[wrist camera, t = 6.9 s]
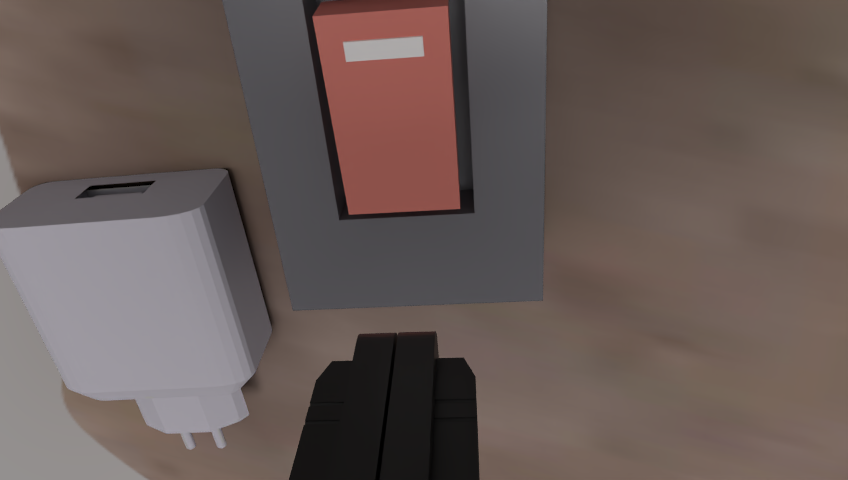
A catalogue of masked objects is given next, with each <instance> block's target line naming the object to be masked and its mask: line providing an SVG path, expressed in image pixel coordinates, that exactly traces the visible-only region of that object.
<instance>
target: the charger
mask: <svg viewBox="0 0 848 480" xmlns="http://www.w3.org/2000/svg"><path fill="white" fill-rule="evenodd" d="M143 181H155V182H154V183H153V184H152V185H147V186H134V187H122V188H109V189H96V190H86V189H87V188H88V187H89V186H93V185H106V184H118V183H131V182H143ZM84 190H85V191H84ZM83 191H84V192H83ZM82 192H83V193H82ZM81 193H82V194H81ZM80 194H81V195H80ZM79 195H80V196H79ZM77 196H78V197H77ZM76 197H77V198H76ZM75 198H76V199H75ZM0 258H1V259H2V262H3V264H4V266H5V267H6V269H7V271H8V273H9V275H10V277H11V279H12V281H13V283H14V285H15V287H16V289H17V291H18V293H19V295H20V297H21V299H22V301H23V303H24V305H25V307H26V308H27V310H28V312H29V314H30V316H31V318H32V320H33V322H34V324H35V326H36V328H37V330H38V332H39V334H40V336H41V338H42V340H43V341H44V344H45V346H46V347H47V349H48V351H49V353H50V355H51V357H52V359H53V361H54V363H55V365H56V367H57V369H58V371H59V373H60V375H61V377H62V379H63V381H64V383H65V385H66V386H67V388H68V389H70V390H72V391H74V392H77V393H80V394H82V395H85V396H88V397H91V398H93V399H96V400H127V399H135V400H136V402H137V404H138V406H139V409H140V411H141V413H142V415H143V418H144V420H145V422H146V424H147V425H148V426H151V427H153V428H155V429H157V430H159V431H162V432H164V433H166V434H170V433H181V436H182V438H183V441H184V443H185V446H186V448H187V449H193V448H194V447H195V446H196V444H195V441H194V439H193V436H192V434H191V433H194V432H212V434H213V437H214V440H215V442H216V445H217V447H218V448H224V447H225V446H226V445H227V443H226V440H225V438H224V435H223V432H222V429H221V428H223V427H225V426H228V425H231V424H233V423H236V422H239V421H241V420H242V419H244V418H245V417H247V416H248V415H249V412H248V409H247V406H246V403H245V400H244V397H243V394H242V391H241V387H242V386H243V385H244V384H245V383H246V382H247V381H248V380H249V379H250V378H251V377H252V376H253V375H254V373H255V372H256V370H257V367H258V365H259V362H260V360H261V357H262V355H263V353H264V350H265V348H266V345H267V343H268V340H269V338H270V335H271V333H272V327H271V324H270V320H269V316H268V313H267V309H266V306H265V302H264V299H263V295H262V291H261V288H260V284H259V281H258V277H257V274H256V270H255V267H254V263H253V259H252V256H251V252H250V249H249V245H248V242H247V238H246V234H245V231H244V227H243V224H242V220H241V217H240V213H239V209H238V206H237V202H236V199H235V195H234V192H233V188H232V184H231V181H230V177H229V174H228V171H227V170H225V169H220V168H216V169H202V170H189V171H177V172H164V173H152V174H139V175H127V176H115V177H102V178H90V179H77V180H66V181H55V182H48V183H44V184H40V185H37V186H34V187H32V188H30V189H28V190H27V191H26V192H24V193H23V194H22V195H20V196H19V197H17V198H16V199H15V200H13V201H12V202H11V203H9V204H8V205H6V206H5V207H4V208H2V209H1V210H0Z"/></svg>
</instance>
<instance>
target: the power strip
mask: <svg viewBox="0 0 848 480" xmlns="http://www.w3.org/2000/svg"><path fill="white" fill-rule="evenodd" d="M222 1H223V6H224V10H225V15H226V19H227V23H228V28H229V32H230V37H231V41H232V45H233V50H234V54H235V58H236V63H237V67H238V72H239V76H240V80H241V85H242V89H243V94H244V98H245V102H246V107H247V111H248V116H249V120H250V124H251V129H252V133H253V137H254V142H255V146H256V151H257V155H258V159H259V164H260V168H261V173H262V177H263V181H264V186H265V190H266V195H267V199H268V203H269V208H270V212H271V217H272V221H273V225H274V230H275V234H276V238H277V243H278V247H279V252H280V256H281V260H282V265H283V269H284V274H285V278H286V282H287V287H288V291H289V296H290V300H291V304H292V309H293V311H295V310H320V309H344V308H369V307H394V306H419V305H444V304H469V303H494V302H519V301H543V255H544V186H545V118H546V49H547V0H449V16H450V33H451V49H452V65H453V82H454V98H455V115H456V131H457V147H458V164H459V180H460V209H449V210H430V211H411V212H392V213H372V214H353V215H349V212H348V207H347V201H346V196H345V190H344V185H343V180H342V174H341V169H340V163H339V158H338V153H337V147H336V142H335V136H334V131H333V126H332V120H331V115H330V109H329V104H328V98H327V93H326V88H325V82H324V77H323V71H322V66H321V61H320V55H319V50H318V44H317V39H316V33H315V28H314V23H313V17H312V16H313V15H314V13H315V11H316V10H317V8H318V7H319V5H320V3H321V2H324V1H337V0H222Z"/></svg>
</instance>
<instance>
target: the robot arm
mask: <svg viewBox="0 0 848 480" xmlns="http://www.w3.org/2000/svg"><path fill="white" fill-rule="evenodd" d="M289 480H480V479H479V452H478V426H477V403H476V380H475V375H474V374H473V372H472V370H471V369H470V367H469V366H468V364H467V362H466V361H465V359H464V358H439V355H438V343H437V334H436V332H404V333H399V334H398V336H397V333H375V334H359V335H358V338H357V342H356V347H355V351H354V356H353V361H332V362H331V363H330V364H329V366H328V367H327V368H326V369H325V371H324V372H323V373H322V374H321V375H320V377H319V378H318V379H317V380H316V383H315V387H314V390H313V394H312V398H311V401H310V407H309V409H308V412H307V416H306V419H305V425H304V427H303V430H302V434H301V438H300V441H299V445H298V449H297V452H296V456H295V459H294V463H293V467H292V470H291V474H290V478H289Z"/></svg>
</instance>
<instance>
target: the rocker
mask: <svg viewBox="0 0 848 480" xmlns="http://www.w3.org/2000/svg"><path fill="white" fill-rule="evenodd" d="M312 17H313V23H314V28H315V33H316V39H317V44H318V50H319V55H320V61H321V66H322V71H323V77H324V82H325V88H326V93H327V98H328V104H329V109H330V115H331V120H332V126H333V131H334V136H335V142H336V147H337V153H338V158H339V163H340V169H341V174H342V180H343V185H344V190H345V196H346V201H347V207H348V212H349V215H353V214H372V213H392V212H411V211H430V210H449V209H460V180H459V164H458V147H457V131H456V115H455V98H454V82H453V65H452V49H451V33H450V16H449V0H337V1H324V2H321V3H320V5H319V7H318V8H317V10H316V11H315V13H314V15H313V16H312Z"/></svg>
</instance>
